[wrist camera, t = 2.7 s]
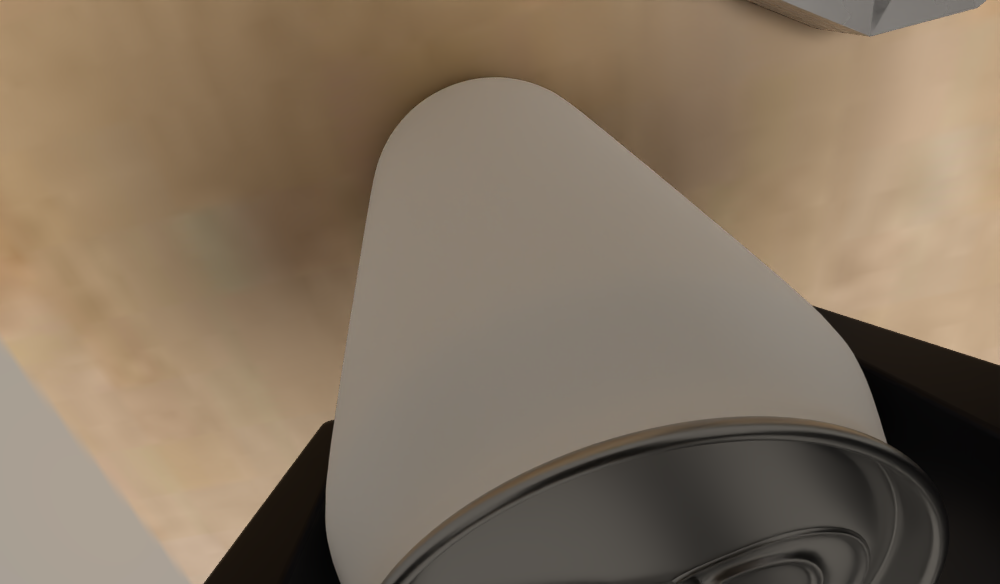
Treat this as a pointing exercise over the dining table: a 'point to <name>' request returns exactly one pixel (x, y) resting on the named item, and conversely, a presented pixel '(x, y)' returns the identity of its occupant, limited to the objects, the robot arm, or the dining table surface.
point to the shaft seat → (866, 13)
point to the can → (594, 380)
